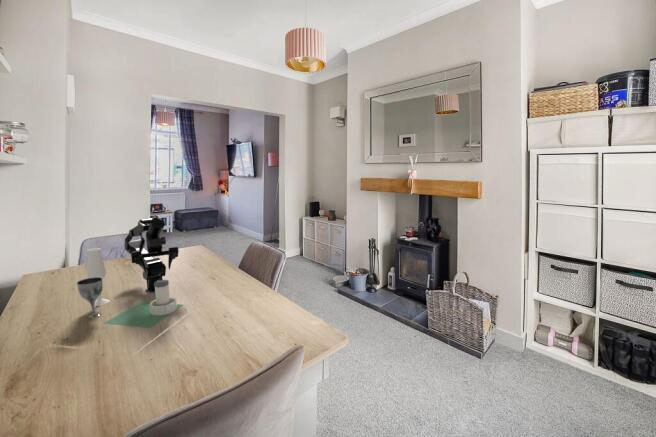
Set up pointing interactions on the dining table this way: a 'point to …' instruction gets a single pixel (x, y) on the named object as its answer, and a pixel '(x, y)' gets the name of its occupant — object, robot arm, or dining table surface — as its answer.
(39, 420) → the dining table surface
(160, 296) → the golf ball tube
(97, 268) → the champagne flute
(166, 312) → the putting green
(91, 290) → the wine glass
